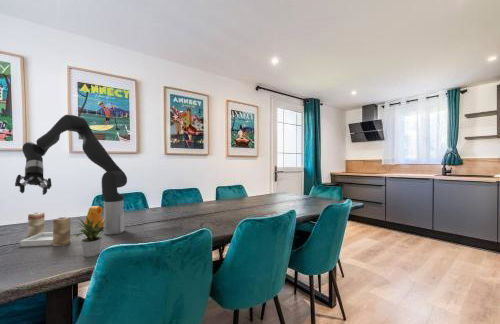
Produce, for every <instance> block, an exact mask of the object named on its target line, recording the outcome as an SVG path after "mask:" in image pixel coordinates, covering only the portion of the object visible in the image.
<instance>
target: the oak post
mask: <svg viewBox="0 0 500 324" xmlns="http://www.w3.org/2000/svg"><path fill="white" fill-rule="evenodd" d="M70 222H71V217H70V216H59V217H57V218H54V219H53V221H52V224H53V225H52V227H53V228H52V232H53V245H52V247H65V246H66V245H68V244H70V243H71V223H70Z"/></svg>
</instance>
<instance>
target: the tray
mask: <svg viewBox="0 0 500 324" xmlns="http://www.w3.org/2000/svg"><path fill="white" fill-rule="evenodd" d="M39 246H53V231H50V232H49V231H48V232H47V231H46V232H45V231H44V232H43V233H39V234H36V235H34V236H28V237H26V238H24V239H22V240H20V241H19V247H20V248H21V247H39Z"/></svg>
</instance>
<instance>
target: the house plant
mask: <svg viewBox="0 0 500 324" xmlns="http://www.w3.org/2000/svg"><path fill="white" fill-rule="evenodd" d="M94 217H95V216H94ZM86 218H87V216H86ZM86 218H85V219H86ZM76 219H77V220H79V221H80V222H81V223H79V222H75V224H72V226H73V225H74V226H75V225H76V226H78V227H80V225H81V227H82V229H80V232H81V233H78V234H76V235H75V239H76V238H77V237H79V236H81V237H83V239H82V240H81V246H82V250H83V251H82V252H83V256H84V257H86V258H87V257H89V258H90V257H95V256H97V255H99V254H100V250H101V245H102V239H103V238H102V237H103V236H100V235H101V234H102V233H103V232H104V231H103V229H107V228H104V227H102V228H100V226H101V225H102V224H103V223H104V222H105V221H106V220H107V219H106V220H105V221H104V222H103V223H102V224H101V225H100V226H99V224H100V221H101V219H100V221H99V223H97V224H96V225H95V227H94V228H93V220H94V219H95V218H93V220H92V222H91V221H90V220H89V219H88V218H87V224H88V225H87V224H85V221H83V220H82V219H81V218H78V217H76ZM108 219H109V218H108ZM71 223H73V221H72V222H71V221H70V224H71ZM76 223H77V224H76ZM78 224H79V225H78ZM84 226H85V227H84ZM98 227H99V228H98ZM83 228H84V229H83ZM105 231H106V230H105ZM82 235H85V236H86V237H84V236H82Z"/></svg>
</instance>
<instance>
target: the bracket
mask: <svg viewBox="0 0 500 324" xmlns="http://www.w3.org/2000/svg"><path fill="white" fill-rule="evenodd" d="M103 213H104V207H102V206H99V205H92V206H90V207H89V208H88V212H87V215H86V217H87V218H88V219H89V220H90V221H91V222H92V220H93V218H95V219H94V220H93V229H94V227H95V225H96V224H97V223H99V221H100V219H101V221H100V224H99V226H100V225H101V224H102V223H103V222H104V219H103V217H102V214H103ZM94 216H95V217H94ZM87 218H85V221H84V223H85V224H87ZM87 225H88V224H87ZM83 226H84V225H83ZM84 227H85V226H84ZM84 227H83V228H84ZM98 228H99V227H98ZM98 228H97V229H98ZM102 228H104V223H103V224H102V225H101V226H100V228H99V229H102Z"/></svg>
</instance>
